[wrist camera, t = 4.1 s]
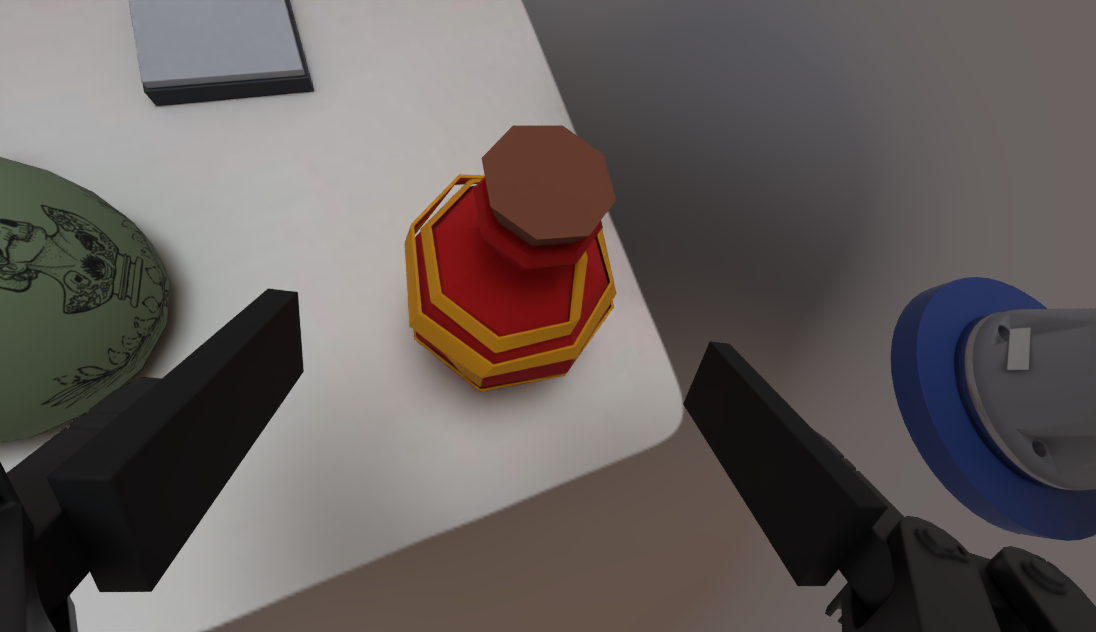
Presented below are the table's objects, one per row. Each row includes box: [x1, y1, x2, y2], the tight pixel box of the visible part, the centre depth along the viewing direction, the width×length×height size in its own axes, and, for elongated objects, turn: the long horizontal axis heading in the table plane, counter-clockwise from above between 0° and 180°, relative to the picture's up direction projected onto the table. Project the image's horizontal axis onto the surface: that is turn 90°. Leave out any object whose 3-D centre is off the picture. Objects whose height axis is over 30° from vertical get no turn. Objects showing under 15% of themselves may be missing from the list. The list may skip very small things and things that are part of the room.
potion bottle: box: [405, 126, 616, 392], centre depth 19 cm, size 10×10×15 cm
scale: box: [129, 0, 314, 105], centre depth 27 cm, size 9×9×2 cm
